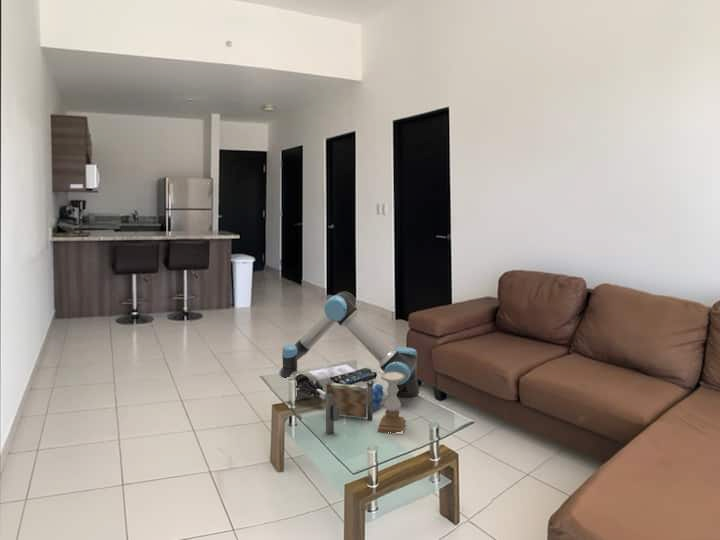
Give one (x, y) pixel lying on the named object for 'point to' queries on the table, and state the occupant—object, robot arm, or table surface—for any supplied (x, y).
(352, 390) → the gate
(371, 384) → the hinge post
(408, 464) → the table surface
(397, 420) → the candle holder
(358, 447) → the table surface
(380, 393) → the grapes
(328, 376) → the table surface
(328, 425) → the post
